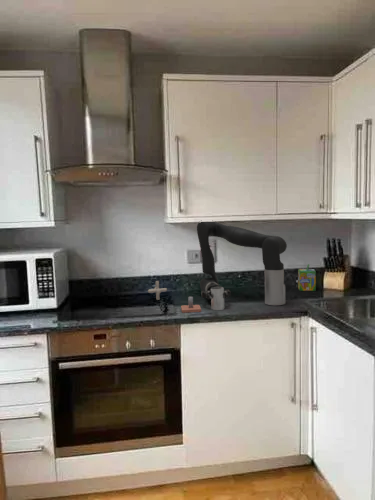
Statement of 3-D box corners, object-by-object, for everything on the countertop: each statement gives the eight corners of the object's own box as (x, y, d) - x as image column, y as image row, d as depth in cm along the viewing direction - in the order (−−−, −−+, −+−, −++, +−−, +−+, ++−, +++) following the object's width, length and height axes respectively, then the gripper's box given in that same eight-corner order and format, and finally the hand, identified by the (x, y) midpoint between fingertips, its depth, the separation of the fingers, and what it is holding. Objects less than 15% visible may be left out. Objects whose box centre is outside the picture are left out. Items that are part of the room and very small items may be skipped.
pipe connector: (150, 302, 197) (149, 283, 196) (147, 298, 207) (146, 280, 206) (168, 300, 200) (168, 282, 199) (165, 296, 210) (164, 279, 209)
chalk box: (297, 287, 222) (297, 263, 220) (314, 288, 220) (313, 263, 218) (299, 291, 213) (299, 265, 211) (316, 291, 211) (316, 265, 209)
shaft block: (199, 307, 183) (198, 294, 183) (201, 311, 175) (200, 298, 174) (181, 308, 183) (180, 295, 182) (182, 312, 174) (181, 299, 173)
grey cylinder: (223, 306, 183) (222, 286, 182) (225, 309, 177) (224, 288, 176) (210, 307, 182) (210, 287, 181) (212, 310, 176) (211, 289, 175)
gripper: (199, 283, 193) (202, 289, 177) (226, 282, 194) (232, 288, 178) (199, 297, 194) (203, 305, 178) (227, 296, 195) (232, 303, 179)
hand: (217, 296), depth 178 cm, fingers open, 8 cm apart
